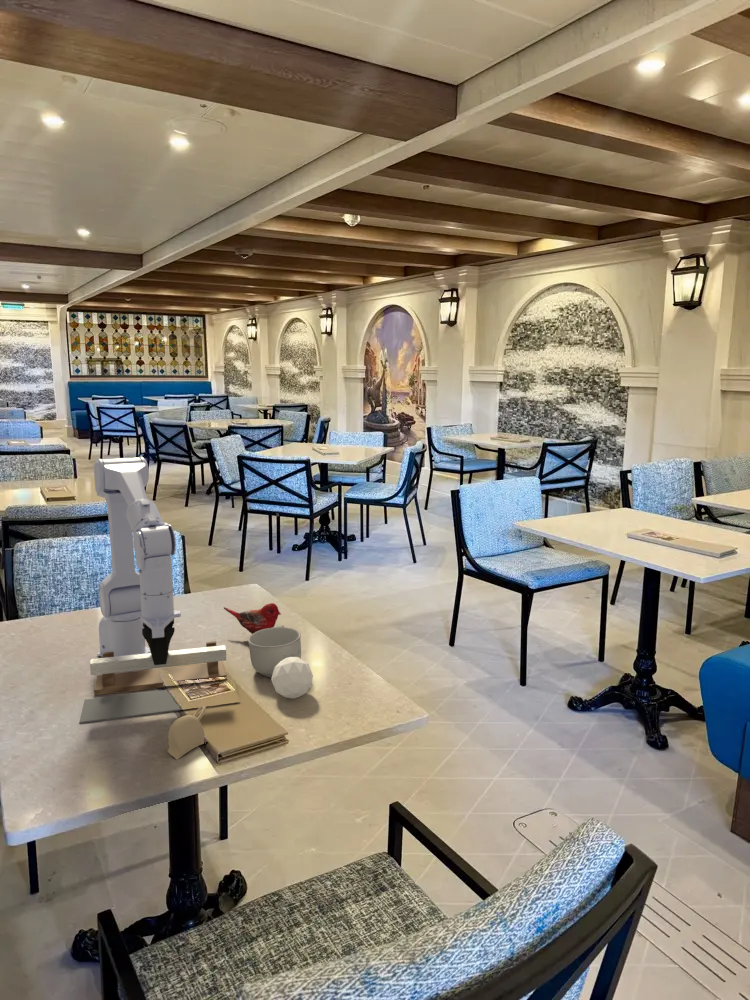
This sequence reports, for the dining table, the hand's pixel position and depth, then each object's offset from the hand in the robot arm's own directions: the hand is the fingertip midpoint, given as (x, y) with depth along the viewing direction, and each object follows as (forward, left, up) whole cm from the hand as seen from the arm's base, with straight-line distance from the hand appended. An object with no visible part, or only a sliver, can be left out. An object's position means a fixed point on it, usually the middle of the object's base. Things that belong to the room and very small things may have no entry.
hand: (160, 661), depth 129 cm
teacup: (+10, +23, -8) cm, 27 cm away
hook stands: (-7, +7, -8) cm, 13 cm away
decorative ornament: (+15, -9, -8) cm, 20 cm away
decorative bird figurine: (-5, +33, -8) cm, 35 cm away
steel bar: (0, 0, -1) cm, 1 cm away
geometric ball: (+20, +14, -8) cm, 26 cm away
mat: (0, 0, -8) cm, 8 cm away
